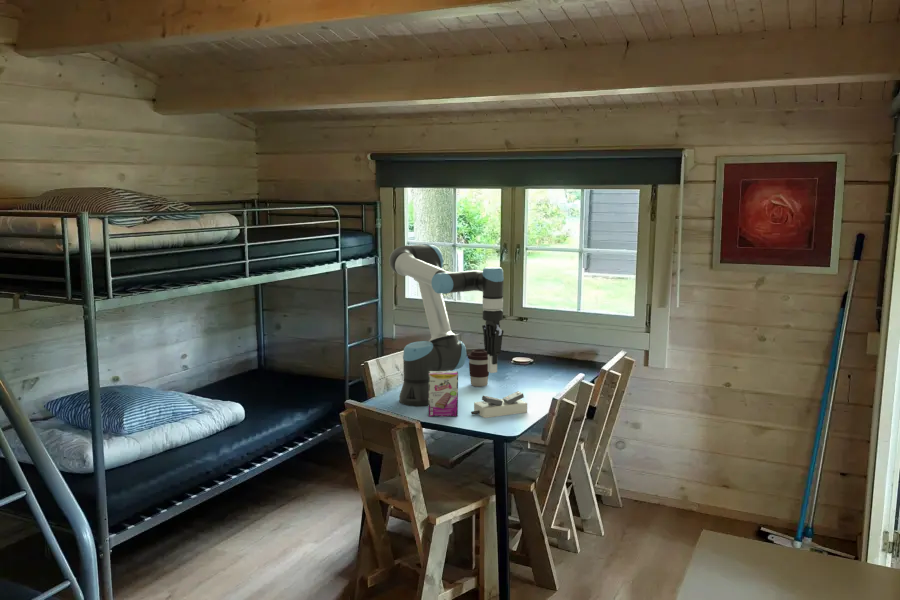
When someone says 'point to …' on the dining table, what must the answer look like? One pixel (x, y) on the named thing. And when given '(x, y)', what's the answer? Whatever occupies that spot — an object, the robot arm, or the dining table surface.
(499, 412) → the power strip
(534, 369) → the dining table surface
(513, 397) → the rocker
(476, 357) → the coffee cup
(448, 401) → the candy bar box
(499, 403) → the rocker
